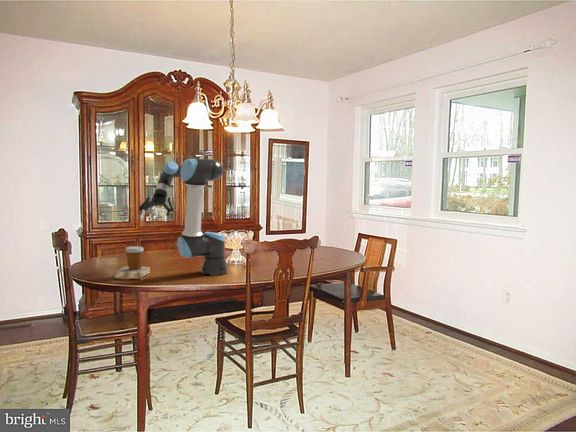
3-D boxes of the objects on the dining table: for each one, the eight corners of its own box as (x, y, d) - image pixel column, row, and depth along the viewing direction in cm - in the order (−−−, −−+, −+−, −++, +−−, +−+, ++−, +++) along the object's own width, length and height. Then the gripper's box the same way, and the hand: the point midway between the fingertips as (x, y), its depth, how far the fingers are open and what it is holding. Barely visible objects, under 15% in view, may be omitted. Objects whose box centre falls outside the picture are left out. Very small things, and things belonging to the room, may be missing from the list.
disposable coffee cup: (133, 272, 225) (133, 249, 224) (121, 269, 230) (121, 247, 229) (148, 268, 233) (147, 247, 232) (136, 266, 238) (135, 245, 237)
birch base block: (149, 274, 239) (149, 266, 239) (140, 280, 225) (140, 272, 225) (125, 273, 240) (125, 266, 240) (114, 279, 226) (114, 271, 226)
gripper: (182, 197, 261) (175, 224, 248) (142, 196, 262) (133, 223, 249) (180, 188, 255) (172, 215, 242) (139, 187, 256) (129, 215, 243)
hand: (152, 219), depth 245 cm, fingers open, 13 cm apart
